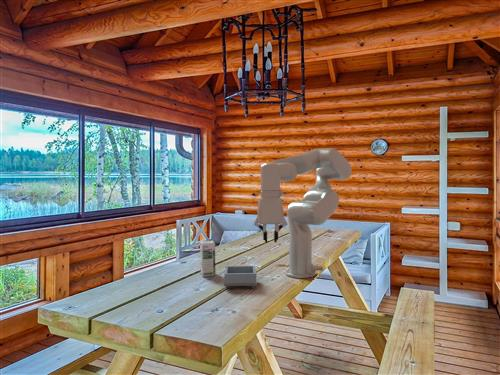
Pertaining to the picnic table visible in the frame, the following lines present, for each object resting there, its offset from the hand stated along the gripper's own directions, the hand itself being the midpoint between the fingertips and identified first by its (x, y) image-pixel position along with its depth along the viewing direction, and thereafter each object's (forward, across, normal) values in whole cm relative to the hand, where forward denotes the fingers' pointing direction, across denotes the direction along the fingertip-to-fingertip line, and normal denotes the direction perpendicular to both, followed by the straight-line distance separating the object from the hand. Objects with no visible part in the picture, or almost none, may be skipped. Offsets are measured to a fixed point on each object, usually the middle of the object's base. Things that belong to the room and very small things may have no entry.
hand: (270, 241), depth 147 cm
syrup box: (+17, +26, -16) cm, 35 cm away
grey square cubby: (+17, +12, 0) cm, 21 cm away
